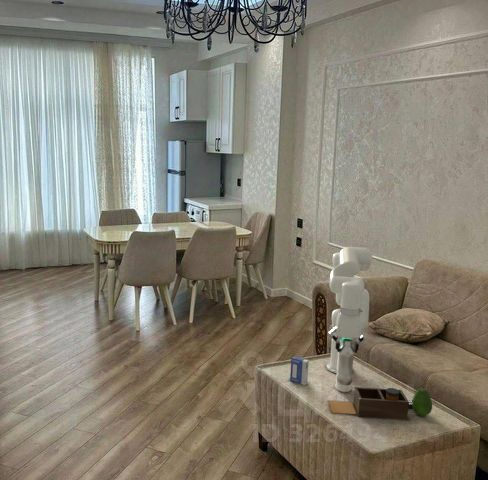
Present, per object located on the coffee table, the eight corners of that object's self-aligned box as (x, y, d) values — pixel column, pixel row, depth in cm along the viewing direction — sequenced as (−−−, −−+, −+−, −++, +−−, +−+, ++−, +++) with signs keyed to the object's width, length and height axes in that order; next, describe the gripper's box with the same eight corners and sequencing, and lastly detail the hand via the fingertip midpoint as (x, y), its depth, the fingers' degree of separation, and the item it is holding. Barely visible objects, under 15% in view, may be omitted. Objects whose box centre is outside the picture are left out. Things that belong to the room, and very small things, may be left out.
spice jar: (383, 408, 234) (385, 387, 232) (395, 409, 233) (397, 388, 231) (386, 414, 229) (388, 393, 227) (398, 415, 228) (400, 393, 226)
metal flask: (354, 386, 229) (358, 342, 225) (340, 387, 228) (343, 343, 224) (348, 379, 235) (351, 336, 231) (333, 380, 234) (336, 337, 230)
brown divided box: (353, 403, 238) (354, 386, 236) (399, 406, 236) (401, 389, 234) (358, 416, 227) (359, 399, 226) (407, 419, 225) (409, 402, 224)
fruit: (435, 419, 226) (438, 393, 223) (417, 420, 224) (420, 394, 222) (424, 409, 233) (427, 384, 231) (407, 411, 232) (410, 385, 230)
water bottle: (351, 393, 247) (355, 342, 242) (335, 391, 249) (339, 340, 244) (350, 386, 254) (354, 336, 249) (334, 384, 255) (338, 335, 250)
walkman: (290, 380, 259) (291, 357, 257) (292, 378, 261) (293, 355, 259) (305, 385, 255) (306, 361, 252) (307, 383, 257) (309, 359, 255)
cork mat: (328, 401, 240) (328, 400, 239) (351, 403, 239) (351, 402, 238) (332, 413, 230) (332, 412, 230) (356, 414, 229) (356, 413, 229)
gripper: (368, 309, 228) (365, 348, 232) (327, 307, 230) (324, 346, 233) (373, 315, 221) (369, 356, 224) (329, 313, 222) (327, 353, 226)
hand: (346, 350), depth 229 cm, fingers closed on metal flask, 6 cm apart
